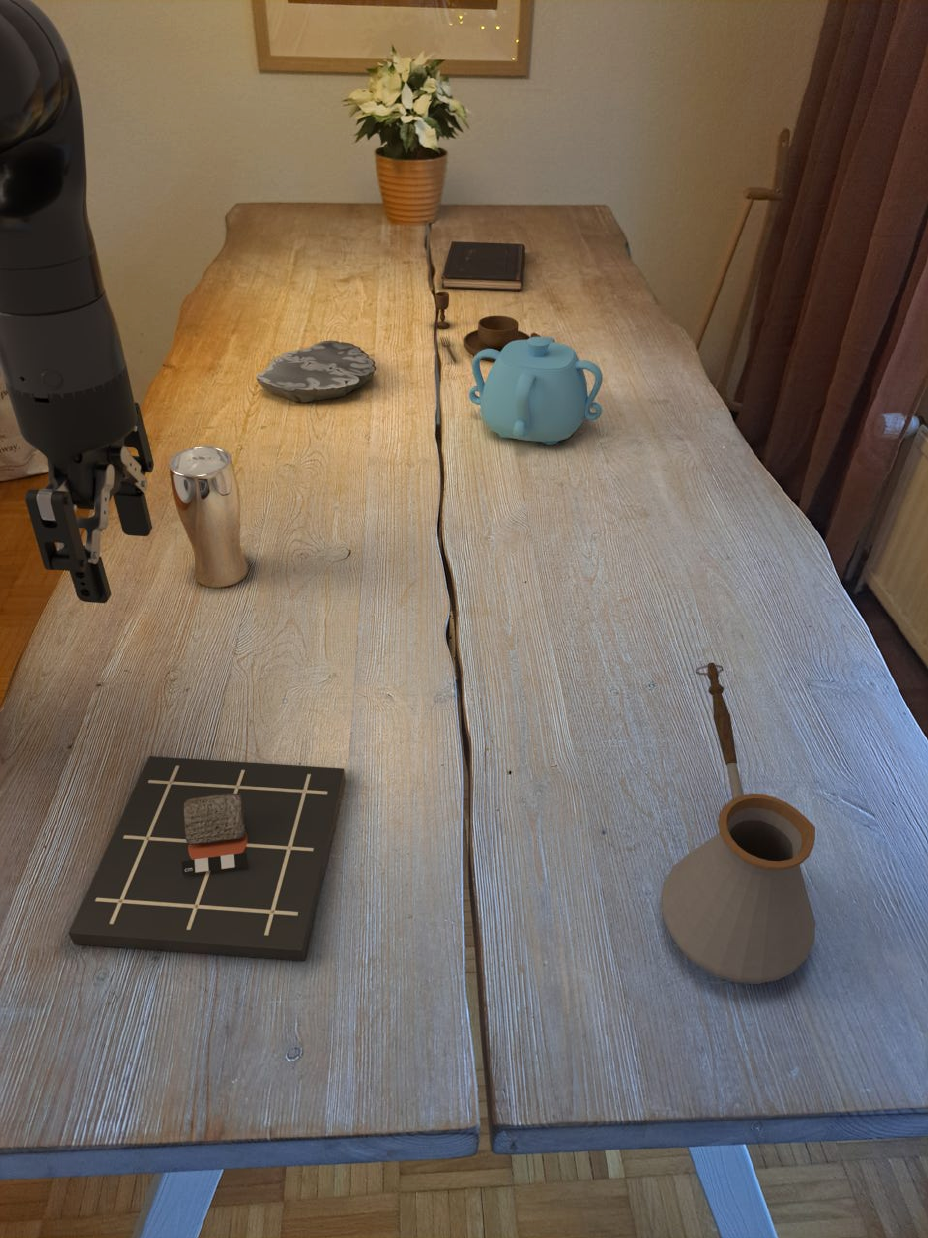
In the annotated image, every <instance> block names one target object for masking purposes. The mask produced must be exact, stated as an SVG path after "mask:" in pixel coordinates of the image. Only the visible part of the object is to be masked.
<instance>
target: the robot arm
mask: <svg viewBox="0 0 928 1238" xmlns="http://www.w3.org/2000/svg"><path fill="white" fill-rule="evenodd" d="M86 159H87V158H86V144H85V127H84V114H83V105H82V97H81V92H80V87H79V81H78V78H77V74H76V70H75V66H74V63H73V61H72V58H71V55H70V52H69V50H68V48H67V45H66V43H65V41H64V39H63V37H62V35H61V34H60V32H59V30H58V28H57V27H56V25H55V24H54V22H53V21H52V20H51V19H50V17H49V16H48V15H47V14H46V12H44V10H43V9H41V8H40V7H39V6H38V5H37V4H36V3H35V2H34V1H32V0H0V372H1V375H2V379H3V381H4V385H5V388H6V391H7V394H8V397H9V400H10V403H11V407H12V410H13V414H14V416H15V419H16V422H17V426H18V429H19V432H20V435H21V437H22V439H24V441H25V442H26V443H27V444H29V445H30V446H32V447H33V448H35V449H36V450H38V451H39V452H41V454H43V455H44V456H45V458H46V459H47V460H46V461H47V468H48V471H47V472H48V481H49V482H48V483H47V484H46V486H44V488H42V489H39V488H38V489H36V488H28V489H27V490H26V492H25V498H24V499H25V505H26V509H27V513H28V515H29V518H30V521H31V525H32V526H31V527H32V529H33V532H34V536H35V540H36V543H37V546H38V547H37V548H38V551H39V553H40V557H41V560H42V565H43V567H44V569H45V570H46V571H47V570H48V571H65V572H66V571H67V572H69V574H70V578H71V581H72V584H73V588H74V590H75V594H76V596H77V598H78V599H79V600H80V601H82V602H84V603H93V604H106V603H108V601H109V599H110V598H111V597H112V591H111V587H110V583H109V580H108V576H107V572H106V569H105V566H104V562H103V561H104V560H103V558H102V556H100V553H101V552H100V551H101V534H102V532H103V531H105V530H106V529H107V528H108V527H109V518H110V517H109V516H110V502H111V501H112V498H113V501H114V504H115V508H116V512H117V516H118V519H119V524H120V528H121V531H122V532H123V533H124V534H125V535H128V536H136V537H137V536H138V537H148V536H149V534H150V533H151V531H152V530H153V524H152V520H151V516H150V512H149V511H150V510H149V507H148V503H147V499H146V498H147V497H146V495H145V492H146V491H147V489H148V488H147V487H148V479H147V477H146V473H152V472H153V471H154V466H155V463H154V458H153V453H152V450H151V446H150V442H149V438H148V435H147V434H148V433H147V431H146V426H145V422H144V419H143V418H144V417H143V414H142V410H141V406H140V404H139V403H138V402H135V397H134V394H133V387H132V384H131V380H130V376H129V369H128V366H127V362H126V358H125V357H126V356H125V353H124V349H123V343H122V339H121V334H120V330H119V326H118V323H117V319H116V316H115V314H114V311H113V308H112V306H111V303H110V300H109V298H108V294H107V291H106V288H105V281H104V278H103V272H102V269H101V263H100V260H99V255H98V251H97V246H96V242H95V238H94V235H93V230H92V227H91V225H90V224H91V223H90V220H89V219H90V218H89V215H88V205H87V189H88V188H87V187H88V186H87V182H88V180H87V177H88V176H87V160H86ZM129 448H134V449H135V450H137V453H138V455H132V454H131V451H130V449H129ZM77 510H89V511H90V510H91V511H93V513H92V515H90V517H84V516H83V517H81V516H77V515H76V511H77ZM80 529H84V530H85V545H84V543H83V539H82V535H81V531H80ZM56 543H57V546H56Z"/></svg>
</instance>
